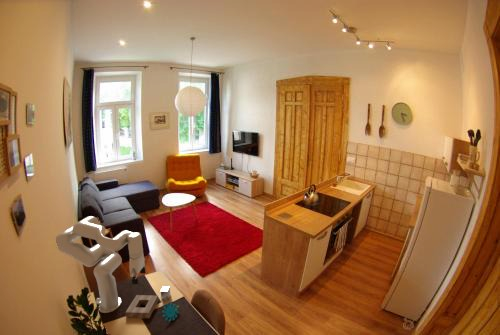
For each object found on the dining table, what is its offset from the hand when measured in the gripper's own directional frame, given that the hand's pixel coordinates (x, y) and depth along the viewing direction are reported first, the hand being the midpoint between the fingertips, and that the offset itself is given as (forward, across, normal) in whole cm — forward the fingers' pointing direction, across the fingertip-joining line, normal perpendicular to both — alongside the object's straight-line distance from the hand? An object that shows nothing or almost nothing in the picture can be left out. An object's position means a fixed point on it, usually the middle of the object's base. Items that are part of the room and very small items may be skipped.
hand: (139, 278), depth 153 cm
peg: (+22, -10, +11) cm, 27 cm away
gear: (+22, +5, +20) cm, 30 cm away
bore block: (+22, 0, 0) cm, 22 cm away
